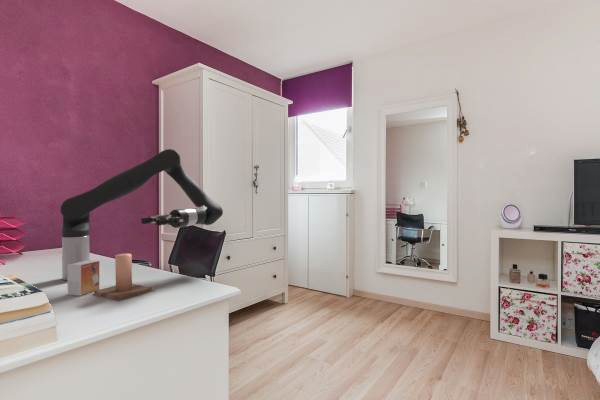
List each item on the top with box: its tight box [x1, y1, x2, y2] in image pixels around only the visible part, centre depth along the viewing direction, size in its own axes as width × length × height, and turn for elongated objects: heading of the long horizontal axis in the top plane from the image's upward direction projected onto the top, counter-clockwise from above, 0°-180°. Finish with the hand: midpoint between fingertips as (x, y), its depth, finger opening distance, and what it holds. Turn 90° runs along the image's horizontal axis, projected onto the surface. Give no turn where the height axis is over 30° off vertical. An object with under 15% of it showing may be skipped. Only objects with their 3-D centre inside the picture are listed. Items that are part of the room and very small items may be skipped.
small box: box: [67, 260, 100, 297], centre depth 113 cm, size 8×6×10 cm
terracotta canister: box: [114, 252, 133, 291], centre depth 112 cm, size 5×5×12 cm
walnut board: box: [93, 283, 153, 302], centre depth 112 cm, size 14×12×1 cm
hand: (149, 221), depth 121 cm, fingers open, 8 cm apart
